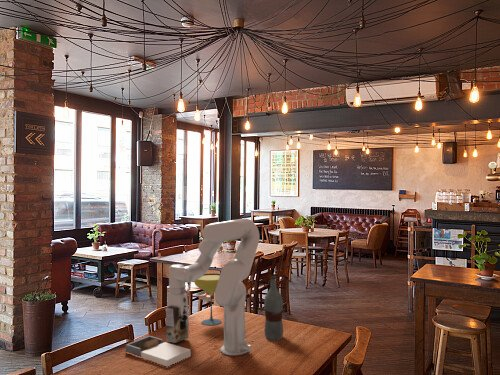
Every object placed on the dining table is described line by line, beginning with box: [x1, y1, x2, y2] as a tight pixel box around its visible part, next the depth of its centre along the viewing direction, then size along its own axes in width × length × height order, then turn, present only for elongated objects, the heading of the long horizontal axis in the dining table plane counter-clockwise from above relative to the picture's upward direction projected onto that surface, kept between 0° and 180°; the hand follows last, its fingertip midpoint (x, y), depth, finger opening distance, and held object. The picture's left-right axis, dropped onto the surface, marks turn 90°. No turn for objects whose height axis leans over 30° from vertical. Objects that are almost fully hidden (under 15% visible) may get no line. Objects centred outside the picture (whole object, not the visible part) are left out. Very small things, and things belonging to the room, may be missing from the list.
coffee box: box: [165, 305, 189, 344], centre depth 204 cm, size 9×6×16 cm
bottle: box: [263, 275, 284, 341], centre depth 208 cm, size 9×9×30 cm
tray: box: [125, 335, 164, 357], centre depth 192 cm, size 10×14×4 cm
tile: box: [139, 337, 159, 352], centre depth 191 cm, size 6×6×3 cm
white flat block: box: [141, 341, 192, 367], centre depth 184 cm, size 16×14×3 cm
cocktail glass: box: [193, 273, 222, 327], centre depth 232 cm, size 18×18×25 cm
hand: (177, 327), depth 204 cm, fingers closed on coffee box, 6 cm apart
